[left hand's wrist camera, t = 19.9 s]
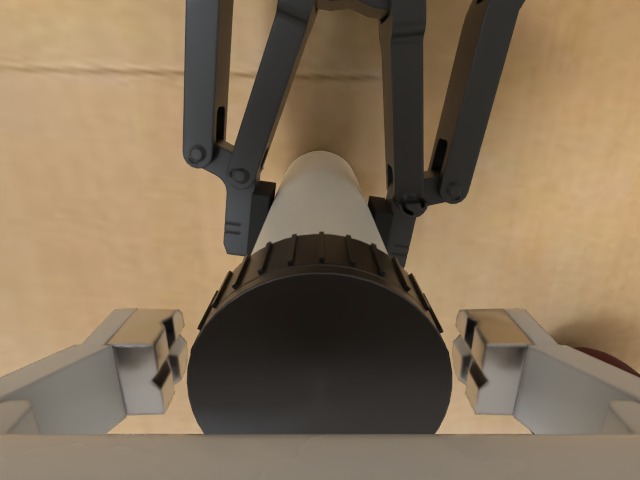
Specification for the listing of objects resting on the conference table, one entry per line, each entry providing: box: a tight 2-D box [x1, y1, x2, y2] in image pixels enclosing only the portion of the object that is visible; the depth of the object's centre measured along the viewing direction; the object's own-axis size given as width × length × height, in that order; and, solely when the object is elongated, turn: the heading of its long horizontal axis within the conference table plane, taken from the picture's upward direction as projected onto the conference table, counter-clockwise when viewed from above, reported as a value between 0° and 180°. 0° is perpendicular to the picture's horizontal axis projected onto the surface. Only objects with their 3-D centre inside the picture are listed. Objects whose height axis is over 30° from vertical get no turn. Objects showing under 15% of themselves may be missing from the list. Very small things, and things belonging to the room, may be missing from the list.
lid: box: [187, 232, 452, 434], centre depth 9 cm, size 5×5×2 cm
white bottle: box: [251, 151, 388, 255], centre depth 17 cm, size 5×5×17 cm
